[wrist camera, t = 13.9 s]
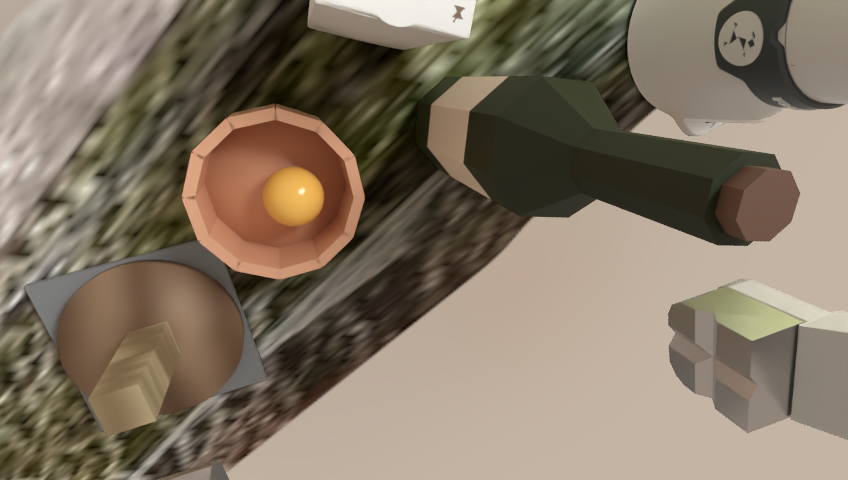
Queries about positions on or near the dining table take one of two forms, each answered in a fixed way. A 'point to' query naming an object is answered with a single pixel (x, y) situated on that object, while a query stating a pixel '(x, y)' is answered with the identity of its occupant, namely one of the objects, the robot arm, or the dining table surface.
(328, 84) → the dining table surface
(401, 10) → the skincare box
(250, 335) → the mat
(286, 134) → the bowl
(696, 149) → the wine bottle
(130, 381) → the lid
